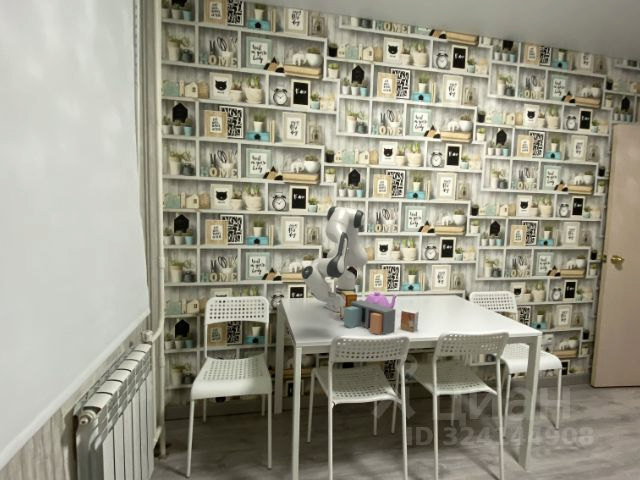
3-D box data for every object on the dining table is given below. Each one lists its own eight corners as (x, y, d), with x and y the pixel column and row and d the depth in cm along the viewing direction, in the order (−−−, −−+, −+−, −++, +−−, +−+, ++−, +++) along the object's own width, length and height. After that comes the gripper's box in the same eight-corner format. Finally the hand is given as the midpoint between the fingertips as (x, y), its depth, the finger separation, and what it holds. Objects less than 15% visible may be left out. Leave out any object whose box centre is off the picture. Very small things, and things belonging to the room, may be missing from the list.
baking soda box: (340, 316, 244) (341, 290, 242) (350, 316, 245) (351, 290, 244) (345, 321, 234) (346, 294, 233) (355, 320, 236) (357, 293, 234)
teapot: (397, 321, 238) (398, 298, 237) (360, 317, 243) (361, 295, 241) (398, 311, 260) (399, 290, 259) (364, 308, 264) (364, 287, 263)
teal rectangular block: (350, 327, 222) (350, 310, 221) (343, 325, 226) (344, 307, 225) (361, 324, 228) (362, 307, 227) (354, 322, 231) (355, 305, 230)
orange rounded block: (377, 334, 212) (378, 315, 211) (369, 331, 216) (370, 313, 215) (388, 331, 218) (389, 313, 217) (380, 328, 222) (381, 310, 221)
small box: (400, 329, 223) (401, 310, 222) (403, 327, 228) (404, 308, 227) (414, 332, 219) (415, 313, 218) (417, 329, 223) (418, 311, 222)
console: (384, 334, 213) (385, 312, 212) (349, 323, 232) (350, 302, 230) (394, 331, 219) (395, 309, 218) (360, 320, 237) (361, 299, 236)
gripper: (340, 289, 203) (353, 306, 210) (313, 282, 218) (326, 298, 225) (333, 299, 200) (346, 316, 208) (307, 291, 216) (320, 307, 223)
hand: (336, 306), depth 217 cm, fingers closed
